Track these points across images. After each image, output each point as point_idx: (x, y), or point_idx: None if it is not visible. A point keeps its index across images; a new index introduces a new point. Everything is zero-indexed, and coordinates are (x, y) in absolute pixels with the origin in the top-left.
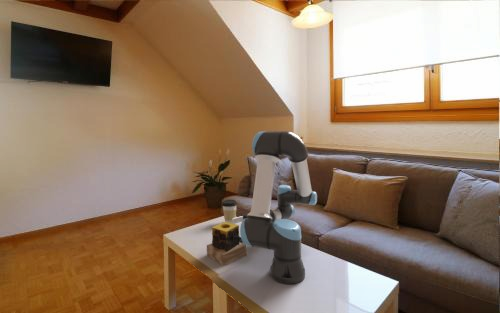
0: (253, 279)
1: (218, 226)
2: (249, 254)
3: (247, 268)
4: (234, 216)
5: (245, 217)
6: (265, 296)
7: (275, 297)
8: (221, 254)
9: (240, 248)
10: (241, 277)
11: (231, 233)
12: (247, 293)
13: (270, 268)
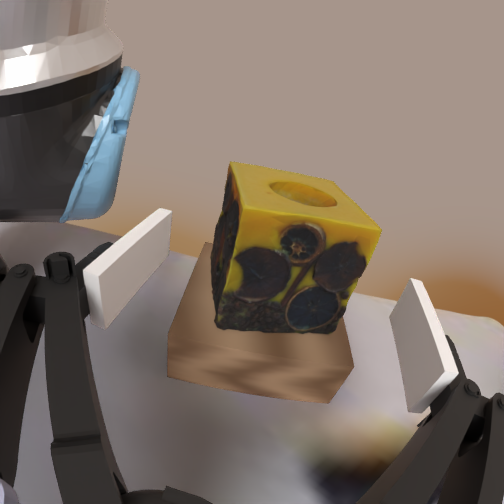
0: None
1: (323, 187)
2: (156, 390)
3: None
4: None
5: (434, 417)
6: (23, 228)
7: (2, 231)
8: None
9: (179, 305)
10: None
11: (228, 201)
12: (65, 224)
13: (7, 271)
